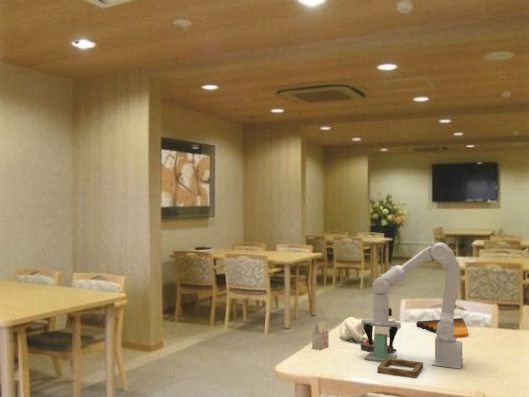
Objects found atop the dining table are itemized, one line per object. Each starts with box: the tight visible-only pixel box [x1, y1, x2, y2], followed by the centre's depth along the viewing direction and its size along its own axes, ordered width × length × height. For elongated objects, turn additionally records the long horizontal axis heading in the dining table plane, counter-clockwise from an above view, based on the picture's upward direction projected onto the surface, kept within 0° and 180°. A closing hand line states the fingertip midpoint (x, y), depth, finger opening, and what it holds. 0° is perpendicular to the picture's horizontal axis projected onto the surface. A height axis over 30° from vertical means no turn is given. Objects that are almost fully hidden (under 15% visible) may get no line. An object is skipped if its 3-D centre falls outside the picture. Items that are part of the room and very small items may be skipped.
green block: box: [373, 333, 388, 358], centre depth 209 cm, size 4×4×8 cm
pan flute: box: [415, 317, 470, 339], centre depth 257 cm, size 25×3×25 cm
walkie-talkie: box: [355, 338, 397, 354], centre depth 222 cm, size 9×4×20 cm
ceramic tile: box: [363, 352, 398, 363], centre depth 209 cm, size 10×10×1 cm
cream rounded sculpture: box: [339, 316, 366, 341], centre depth 238 cm, size 11×12×9 cm
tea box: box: [311, 321, 330, 351], centre depth 224 cm, size 4×7×10 cm, turn 145°
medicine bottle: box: [373, 307, 396, 338], centre depth 248 cm, size 7×7×12 cm
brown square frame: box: [377, 358, 424, 379], centre depth 194 cm, size 13×13×2 cm
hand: (380, 345), depth 209 cm, fingers open, 7 cm apart
